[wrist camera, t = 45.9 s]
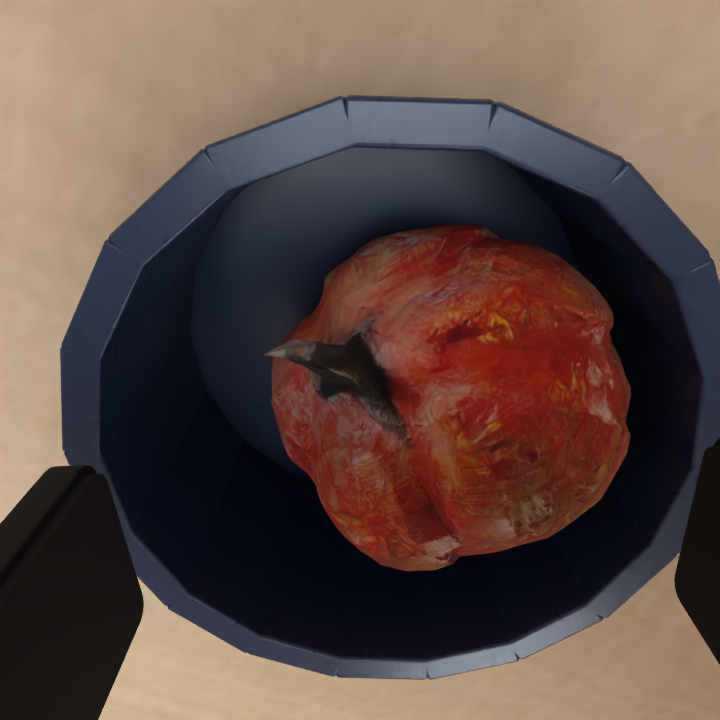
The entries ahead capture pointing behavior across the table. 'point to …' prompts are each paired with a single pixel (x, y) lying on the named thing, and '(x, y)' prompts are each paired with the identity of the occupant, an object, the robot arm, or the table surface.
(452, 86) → the table surface
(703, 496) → the robot arm
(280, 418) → the pomegranate
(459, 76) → the table surface
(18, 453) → the table surface
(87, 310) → the bowl
